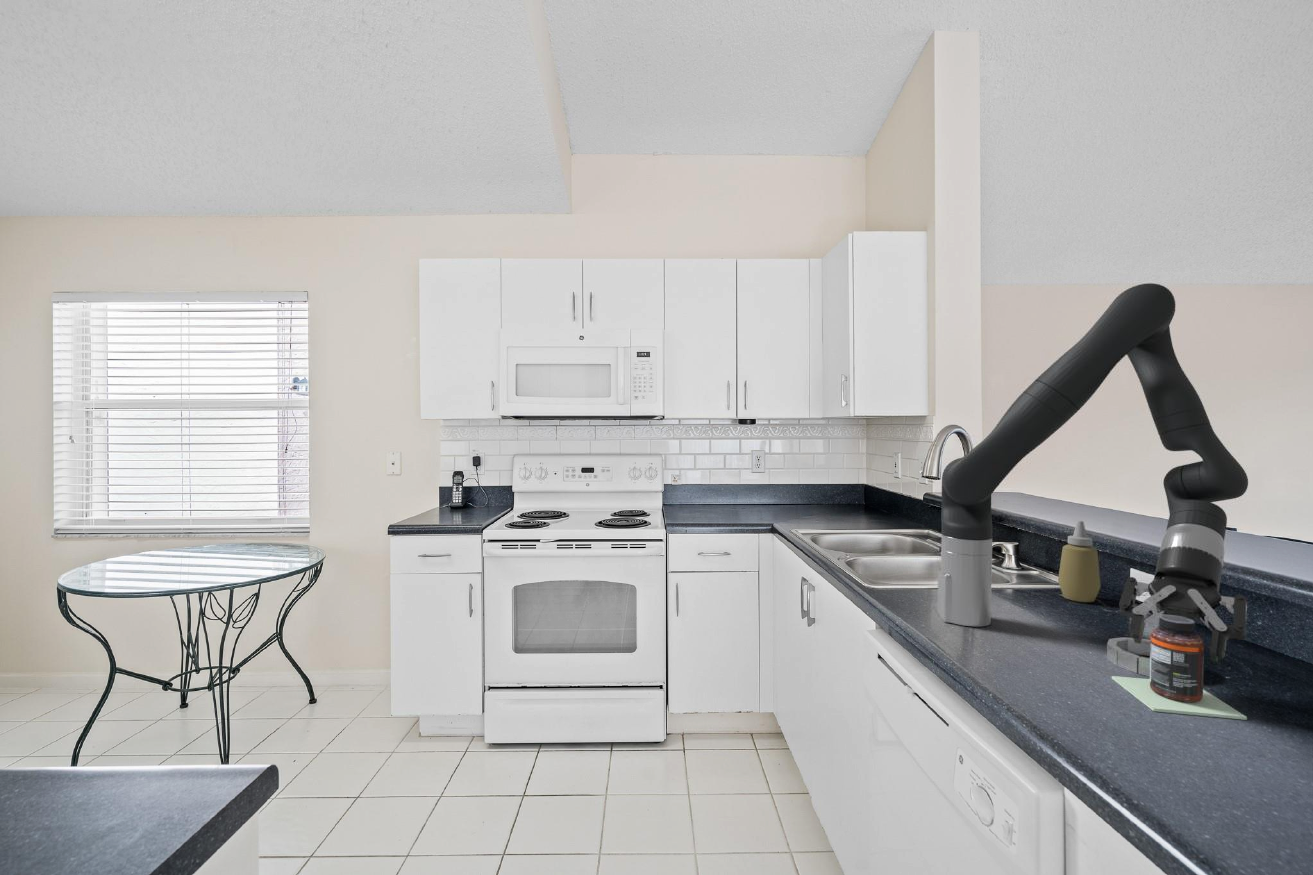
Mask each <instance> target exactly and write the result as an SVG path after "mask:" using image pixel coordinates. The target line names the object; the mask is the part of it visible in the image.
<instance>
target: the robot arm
mask: <svg viewBox="0 0 1313 875" xmlns="http://www.w3.org/2000/svg"><path fill="white" fill-rule="evenodd" d="M1175 313H1176V300H1175V296H1174V294H1173V293H1172V291H1171V290H1170V289H1169V288H1168V287H1166V286H1164V285H1162V284H1160V283H1159V284H1158V283H1151V282H1149V283H1141V284H1137V285H1134V286H1132V287H1129V288H1128V289H1125V290H1124V291H1122V292H1121V293H1119V294H1118V295H1117V296H1116V297H1115V299H1113V301H1112V302H1111V303H1110V305H1109V306H1108V308H1107V309H1106V310H1105V311H1104V312H1103V314H1102V315H1101V316H1099V319H1098V320H1097V321H1096V322H1095V323H1094V325H1092V327H1090V329H1089V330H1088V331H1087V332H1086V333H1085V334H1084V335H1083V336H1082V337H1081V338H1080V340H1078V341H1077V342H1076V343H1075V344H1074V345H1073V346H1072V347H1070V348H1069V349H1068V350H1067V351H1066V352H1065V353H1064V354H1063V355H1061V356H1060V357H1059V358H1057V360H1055V361H1054V362H1053V364H1051V365H1050V366H1049V367H1048V368H1047V369H1045V370H1044V371H1043V372H1042V373H1041V374H1040V375H1039V376H1038V377H1037V378H1035V380H1034V381H1033V382H1032V383H1031V384H1030V385H1028V387H1027V388H1026V389H1025V390H1024V391H1023V392H1021V394H1020V395H1019V396H1018V397H1017V398H1016V399H1015V401H1013V403H1012V404H1011V405H1010V406H1009V408H1007V410H1006V412H1005V413H1004V414H1003V416H1002V417H1001V419H1000V420H998V422H997V424H996V425H995V427H994V428H993V430H992V431H991V432H990V433H989V434H988V435H987V436H986V437H985V438H984V439H983V440H982V441H980V443H978V444H977V445H976V446H974V447H973V449H971V450H970V451H969V452H968V453H966V454H965V455H963V456H962V457H959V458H955V459H954V460H952V461H950V462H949V463H948V464H947V465H946V466H945V468H944V470H943V472H942V476H941V508H940V509H941V511H940V512H941V513H940V515H941V518H940V519H941V520H940V522H941V548H940V549H941V550H940V552H941V556H940V560H941V561H940V568H938V570H937V614H938V616H939V617H940V618H941V620H942V621H943V622H944V623H951V624H955V625H960V626H965V627H966V626H967V627H977V628H978V627H987V626H989V625H991V624H992V623H991V621H992V620H991V619H992V578H993V577H992V570H993V568H992V565H993V527H994V526H993V520H992V519H993V518H992V495H993V493H994V492H995V490H996V489H997V488H998V487H999V485H1000V484H1001V483H1002V482H1003V481H1004V480H1005V478H1006V477H1007V476H1008V475H1009V473H1011V472H1012V470H1013V469H1014V468H1015V467H1016V466H1017V465H1018V464H1019V463H1020V462H1021V461H1022V460H1023V459H1024V458H1025V457H1026V456H1027V455H1029V454H1030V453H1032V452H1033V451H1034V450H1035V449H1037V448H1038V447H1039V446H1040V445H1042V444H1043V443H1044V442H1045V441H1047V439H1049V438H1050V437H1051V436H1052V435H1053V434H1055V433H1056V431H1058V430H1060V428H1062V427H1063V426H1064V425H1065V424H1066V423H1067V422H1068V421H1069V420H1070V419H1071V418H1072V417H1074V416H1075V415H1076V414H1077V413H1078V412H1079V411H1080V410H1081V409H1082V408H1083V406H1085V405H1086V404H1087V402H1088V401H1089V400H1090V399H1091V398H1092V397H1093V395H1094V394H1095V393H1096V392H1097V390H1098V389H1099V388H1100V387H1101V385H1102V384H1103V382H1104V381H1105V380H1106V379H1107V377H1108V376H1109V374H1110V373H1111V372H1112V370H1113V369H1114V368H1115V367H1116V366H1117V364H1119V363H1120V362H1121V360H1123V359H1124V358H1125V357H1126V356H1127V357H1128V359H1129V361H1130V363H1131V365H1132V367H1133V369H1134V372H1135V373H1136V375H1137V377H1138V380H1139V382H1140V386H1141V388H1142V391H1143V393H1144V397H1145V400H1146V403H1147V406H1148V409H1149V412H1150V415H1151V417H1152V420H1153V423H1154V425H1155V428H1156V430H1157V434H1158V436H1159V439H1160V441H1161V444H1162V446H1163V448H1164V449H1165V450H1167V451H1169V452H1186V451H1193V453H1196V454H1197V455H1198V456H1199V457H1200V458H1201V459H1202V460H1201V461H1197V462H1196V461H1195V462H1191V463H1187V464H1182V465H1178V466H1175V467H1172V468H1171V469H1170V470H1169V471H1168V472H1167V473H1166V474H1165V476H1164V478H1163V488H1164V491H1165V492H1164V493H1165V495H1166V500H1167V506H1168V511H1169V516H1168V520H1167V526H1166V530H1165V533H1164V536H1163V538H1162V540H1161V544H1160V547H1159V548H1160V549H1159V553H1158V558H1157V562H1156V567H1155V568H1156V569H1155V572H1154V578H1153V580H1152V581H1151V582H1149V583H1146V582H1142V581H1141V582H1140V581H1137V579H1136V577H1133V576H1129V577H1128V578H1126V583H1125V584H1124V588H1123V590H1122V593H1121V596H1120V599H1119V603H1118V606H1119V607H1118V608H1119V610H1120V613H1121V615H1122V616H1123V617H1126V618H1127V617H1128V618H1130V623H1129V627H1128V632H1129V635H1130V638H1133V639H1134V642H1135V643H1139V644H1141V641H1142V639H1143V636H1144V635H1143V634H1144V630H1145V627H1146V626H1145V625H1146V623H1145V622H1147V621H1148V620H1150V619H1152V618H1157V617H1160V615H1163V614H1164V613H1166V615H1176V616H1182V617H1186V618H1189V619H1191V620H1193V621H1195V620H1196V619H1200V620H1201V621H1202V622H1203V623H1204V626H1206V627H1207V628H1208V629H1210V631H1212V632H1211V633H1212V634H1211V641H1210V646H1209V660H1210V661H1213V662H1218V660H1219V659H1224V657H1225V656H1226V650H1227V641H1228V640H1230V639H1237V640H1239V641H1244V640H1246V639H1247V625H1248V624H1247V623H1248V621H1247V619H1248V614H1247V612H1248V607H1247V599H1246V598H1247V597H1246V596H1245V595H1243V594H1236V595H1234V597H1231V596H1224V595H1221V594H1220V593H1219V591H1220V585H1221V578H1222V571H1223V568H1224V565H1225V560H1224V559H1225V538H1226V531H1227V524H1228V515H1227V513H1226V511H1225V510H1224V509H1223V508H1222V507H1221V506H1219V505H1218V504H1216V502H1220V501H1221V502H1223V501H1228V500H1233V499H1234V500H1235V499H1237V498H1240V497H1242V496H1243V495H1245V493H1246V492H1247V490H1248V488H1249V487H1248V486H1249V479H1248V476H1247V472H1246V471H1245V469H1244V468H1243V467H1242V465H1241V464H1240V462H1238V461H1237V459H1236V458H1235V456H1233V455H1232V454H1231V452H1230V451H1229V450H1228V449H1227V447H1226V446H1225V445H1224V444H1223V442H1222V441H1221V440H1220V438H1219V437H1218V436H1217V434H1216V432H1215V431H1214V429H1213V426H1212V424H1211V421H1210V419H1209V417H1208V414H1207V412H1206V409H1205V406H1204V404H1203V402H1202V399H1201V397H1200V395H1199V393H1198V392H1197V390H1196V389H1195V387H1194V386H1193V383H1191V380H1190V379H1189V378H1188V376H1187V374H1186V373H1185V371H1184V370H1183V368H1182V366H1181V364H1180V362H1179V360H1178V358H1177V355H1176V352H1175V349H1174V346H1173V342H1172V336H1171V329H1170V324H1171V323H1172V321H1173V318H1174V316H1175ZM1147 592H1148V594H1149V595H1150V596H1149V597H1148V598H1146V599H1144V601H1143V602H1142V603H1140V604H1139V605H1137V606H1135V602H1136V600H1137V597H1141V596H1142V595H1143V594H1144V593H1147ZM1221 606H1225V608H1227V611H1228V612H1229V613H1231V614H1233V624H1229V625H1227V624H1225V623H1224V621H1223V620H1222V619H1221V618H1220V616H1218V614H1217V612H1216V611H1215V610H1217V609H1218V608H1219V607H1221Z"/></svg>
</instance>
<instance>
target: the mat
mask: <svg viewBox="0 0 1313 875" xmlns="http://www.w3.org/2000/svg"><path fill="white" fill-rule="evenodd" d="M1111 679H1112V680H1113V681H1114V682H1116V684H1118V685H1119V686H1121V687H1122V688H1123V689H1125V691H1127V692H1129V693H1130V694H1131V695H1132V696H1133V697H1135V698H1136V699H1137V700H1138V701H1140V702H1141V703H1142V704H1144V705H1145V706H1146V707H1148V708H1149V709H1150V710H1152V711H1153V712H1160V713H1167V714H1168V713H1169V714H1178V715H1179V714H1181V715H1188V716H1189V715H1190V716H1201V717H1212V718H1221V719H1231V720H1232V719H1233V720H1243V721H1247V720H1248V717H1247V716H1246V715H1245V714H1243V713H1241V712H1239V711H1238V710H1236V709H1235V708H1233V707H1232V706H1231V705H1229V704H1227V703H1225V702H1224V701H1222V700H1220V699H1219V698H1217V697H1216V696H1215V695H1213V694H1212V693H1209V692H1208V691H1206V690H1205V689H1203V698H1202V700H1200V701H1197V702H1183V701H1178V700H1173V699H1169V698H1166V697H1163V696H1161V695H1159V694H1157V693H1156V692H1154V691H1153V690H1152V689H1151V687H1150V678H1141V677H1140V678H1138V677H1129V676H1118V675H1112V676H1111Z"/></svg>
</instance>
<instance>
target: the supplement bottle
mask: <svg viewBox="0 0 1313 875" xmlns="http://www.w3.org/2000/svg"><path fill="white" fill-rule="evenodd" d="M1158 617H1159V619H1158V620H1159V621H1158V626H1157V627H1156V628H1154V629H1152V631H1151V632H1150V640H1151V642H1150V656H1149V658H1150V676H1149V679H1150V687H1151V689H1152V690H1153V691H1154V692H1156V693H1157V694H1159V695H1161V696H1163V697H1166V698H1169V699H1173V700H1178V701H1183V702H1197V701H1200V700H1202V698H1203V690H1204V668H1205V665H1204V661H1205V660H1204V659H1205V654H1204V653H1205V651H1204V650H1205V644H1204V640H1203V638H1202V637H1201V636H1199V635H1198V634H1197V633H1196V621H1195V620H1192V619H1189V618H1186V617H1182V616H1176V615H1168V614H1160V615H1159V616H1158Z"/></svg>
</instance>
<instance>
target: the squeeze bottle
mask: <svg viewBox="0 0 1313 875" xmlns="http://www.w3.org/2000/svg"><path fill="white" fill-rule="evenodd" d="M1076 521H1077V522H1076V524H1075V528H1074V531H1073V535H1068V536H1067V544H1065V545H1063V546H1062V550H1061V555H1060V556H1061V558H1060V562H1059V570H1058V578H1057V579H1058V580H1057V582H1058V584H1059V587H1060V590H1061V593H1062V596H1063V598H1064V599H1067V600H1070V601H1074V602H1079V603H1093V602H1095V600H1096V598H1097V596H1098V594H1099V592H1100V589H1101V576H1100V567H1099V566H1100V565H1099V556H1098V549H1097V548H1095V547H1093V538H1092V537H1090V536H1088V535H1087V531H1086V528H1085V522H1084V521H1082V520H1081V521H1080V520H1076Z"/></svg>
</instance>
